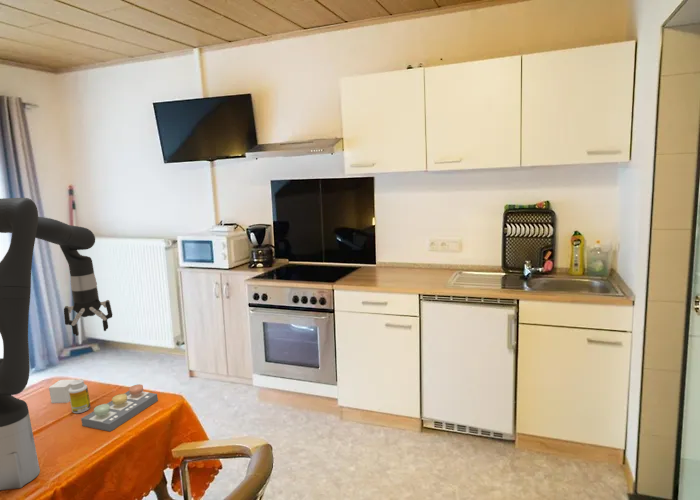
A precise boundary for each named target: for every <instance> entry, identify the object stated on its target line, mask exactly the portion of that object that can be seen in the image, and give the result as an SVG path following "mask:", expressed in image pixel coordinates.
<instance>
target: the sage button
mask: <svg viewBox="0 0 700 500" xmlns="http://www.w3.org/2000/svg"><path fill="white" fill-rule="evenodd" d="M93 411H94V414H95V415H96V416H100V415H104V414H107V413H108V412H109V411H110V406H109V404H107V403H101V404H99V405H97V406H95V407H94V408H93Z"/></svg>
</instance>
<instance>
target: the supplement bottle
mask: <svg viewBox="0 0 700 500" xmlns="http://www.w3.org/2000/svg"><path fill="white" fill-rule="evenodd" d="M70 387H71V388H70V389H69V397H70V401H69V402H70V406H71V412H72V413H74V414H82V413H85V412H87V411H88V410H89V409H90V408H91V401H90V394H89V390H88V389H89V388H88V385H87V384H85V380H84V379H82V378H80V379H76V380H75V381H72V382H71V383H70Z"/></svg>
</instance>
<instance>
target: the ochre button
mask: <svg viewBox="0 0 700 500" xmlns="http://www.w3.org/2000/svg"><path fill="white" fill-rule="evenodd" d="M111 401H112V402H113V404H114V405H119V404H123V403H125V402H126V401H127V395H126V394H124V393H119V394H116V395H114V396H113V397H112V398H111Z"/></svg>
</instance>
